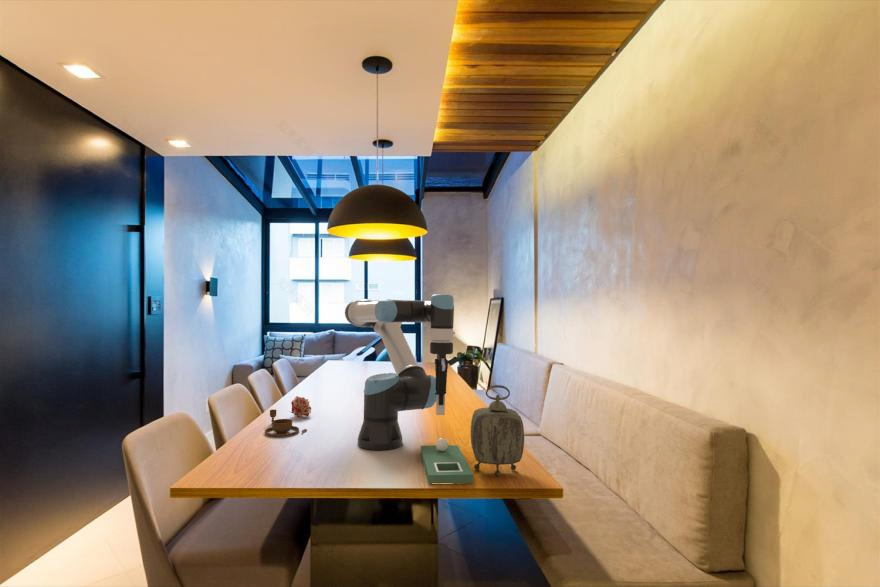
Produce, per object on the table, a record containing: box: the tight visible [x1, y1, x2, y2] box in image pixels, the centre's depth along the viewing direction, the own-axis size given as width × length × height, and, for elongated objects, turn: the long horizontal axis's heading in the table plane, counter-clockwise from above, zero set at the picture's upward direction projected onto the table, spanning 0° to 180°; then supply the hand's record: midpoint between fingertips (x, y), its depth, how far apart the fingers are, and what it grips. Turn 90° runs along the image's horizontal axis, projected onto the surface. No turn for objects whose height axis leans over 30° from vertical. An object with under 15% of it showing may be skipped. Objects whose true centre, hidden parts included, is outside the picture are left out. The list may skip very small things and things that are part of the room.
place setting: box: [264, 408, 308, 438], centre depth 171 cm, size 18×20×6 cm
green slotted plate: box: [420, 444, 474, 484], centre depth 134 cm, size 12×26×2 cm, turn 7°
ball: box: [434, 437, 449, 452], centre depth 142 cm, size 4×4×4 cm
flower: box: [288, 395, 312, 419], centre depth 192 cm, size 10×9×8 cm
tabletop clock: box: [470, 384, 525, 477], centre depth 131 cm, size 14×9×25 cm, turn 91°
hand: (440, 414), depth 148 cm, fingers closed
